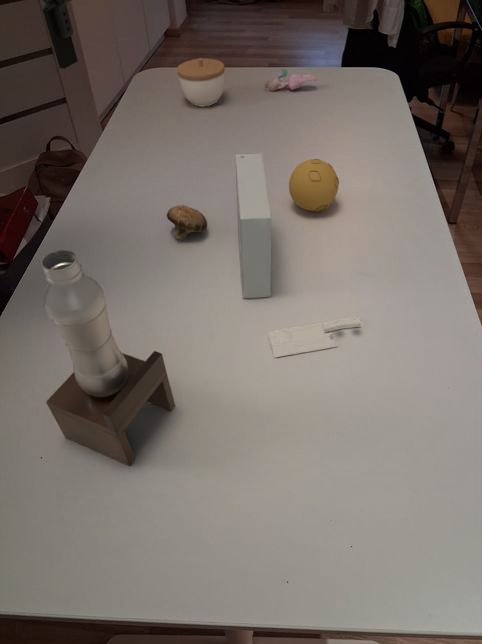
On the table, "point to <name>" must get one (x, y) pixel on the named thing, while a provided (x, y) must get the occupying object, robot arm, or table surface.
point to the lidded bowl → (202, 80)
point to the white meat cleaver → (307, 337)
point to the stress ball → (313, 185)
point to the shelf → (111, 408)
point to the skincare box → (253, 226)
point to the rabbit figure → (292, 82)
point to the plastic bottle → (83, 324)
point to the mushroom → (186, 220)
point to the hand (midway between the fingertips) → (28, 58)
